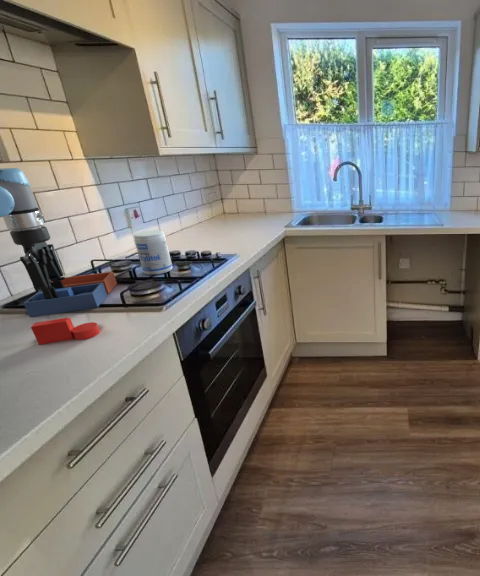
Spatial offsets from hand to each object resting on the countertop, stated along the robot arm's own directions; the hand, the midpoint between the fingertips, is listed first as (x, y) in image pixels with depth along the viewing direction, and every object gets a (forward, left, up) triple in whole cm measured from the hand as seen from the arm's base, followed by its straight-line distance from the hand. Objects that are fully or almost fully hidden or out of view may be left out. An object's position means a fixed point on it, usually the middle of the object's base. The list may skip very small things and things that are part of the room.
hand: (59, 304), depth 107 cm
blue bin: (+2, 0, -1) cm, 3 cm away
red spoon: (+10, -23, -1) cm, 25 cm away
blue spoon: (+3, 0, 0) cm, 3 cm away
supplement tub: (+22, +24, -1) cm, 33 cm away
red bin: (+2, +11, -1) cm, 11 cm away
